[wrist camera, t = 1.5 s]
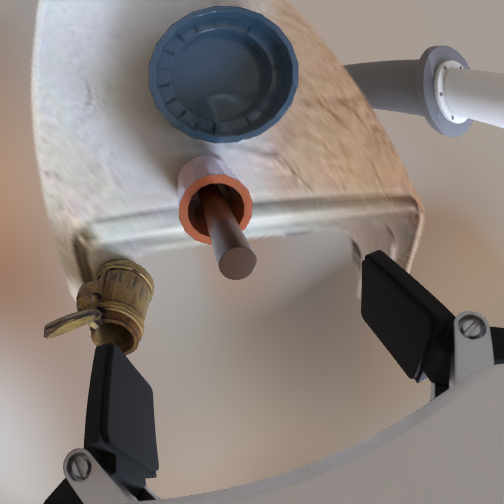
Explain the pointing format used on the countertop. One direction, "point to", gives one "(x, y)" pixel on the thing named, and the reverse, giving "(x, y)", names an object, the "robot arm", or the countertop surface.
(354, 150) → the countertop surface
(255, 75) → the bowl
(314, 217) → the countertop surface
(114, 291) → the wooden mug
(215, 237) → the stick
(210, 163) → the holder
